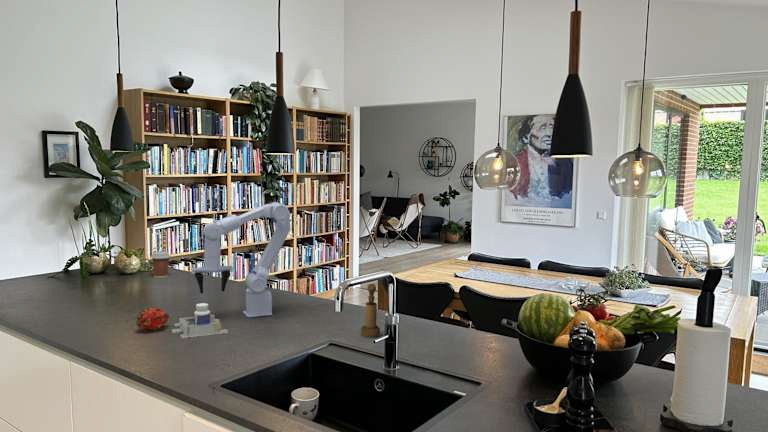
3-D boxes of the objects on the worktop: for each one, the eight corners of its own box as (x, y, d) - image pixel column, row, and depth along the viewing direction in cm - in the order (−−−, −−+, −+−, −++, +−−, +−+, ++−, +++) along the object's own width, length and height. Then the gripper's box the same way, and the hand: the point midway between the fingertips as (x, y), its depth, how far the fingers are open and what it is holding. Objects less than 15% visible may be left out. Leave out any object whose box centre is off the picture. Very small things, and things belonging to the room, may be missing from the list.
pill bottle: (213, 329, 189) (213, 304, 188) (201, 333, 184) (201, 307, 184) (202, 326, 191) (202, 301, 191) (190, 330, 187) (190, 305, 186)
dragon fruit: (132, 338, 182) (165, 334, 191) (146, 327, 178) (178, 324, 187) (127, 314, 185) (159, 312, 195) (140, 303, 181) (172, 302, 191)
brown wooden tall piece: (365, 338, 184) (367, 286, 182) (357, 333, 190) (359, 282, 188) (383, 336, 187) (384, 285, 185) (374, 331, 193) (376, 281, 191)
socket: (217, 320, 199) (217, 312, 199) (228, 332, 185) (228, 324, 185) (169, 325, 191) (169, 317, 191) (175, 339, 177) (175, 330, 177)
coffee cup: (147, 277, 267) (146, 253, 266) (157, 273, 276) (157, 250, 274) (164, 278, 265) (164, 254, 264) (174, 275, 274) (174, 251, 273)
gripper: (229, 252, 207) (229, 287, 208) (189, 254, 200) (189, 291, 201) (234, 255, 201) (234, 292, 202) (193, 258, 194) (193, 295, 195)
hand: (212, 291), depth 201 cm, fingers open, 7 cm apart
